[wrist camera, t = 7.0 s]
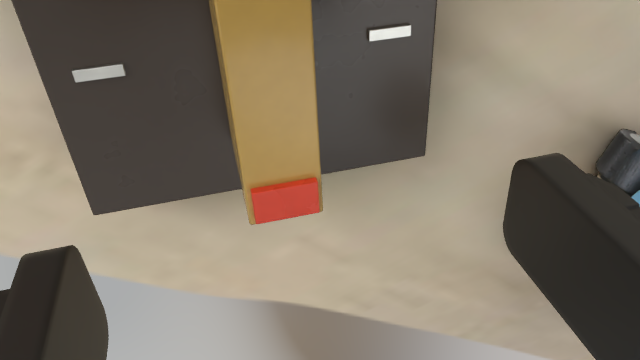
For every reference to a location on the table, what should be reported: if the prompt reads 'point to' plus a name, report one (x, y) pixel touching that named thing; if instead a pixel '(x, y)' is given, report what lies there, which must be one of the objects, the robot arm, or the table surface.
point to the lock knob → (271, 103)
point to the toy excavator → (622, 163)
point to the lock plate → (217, 91)
